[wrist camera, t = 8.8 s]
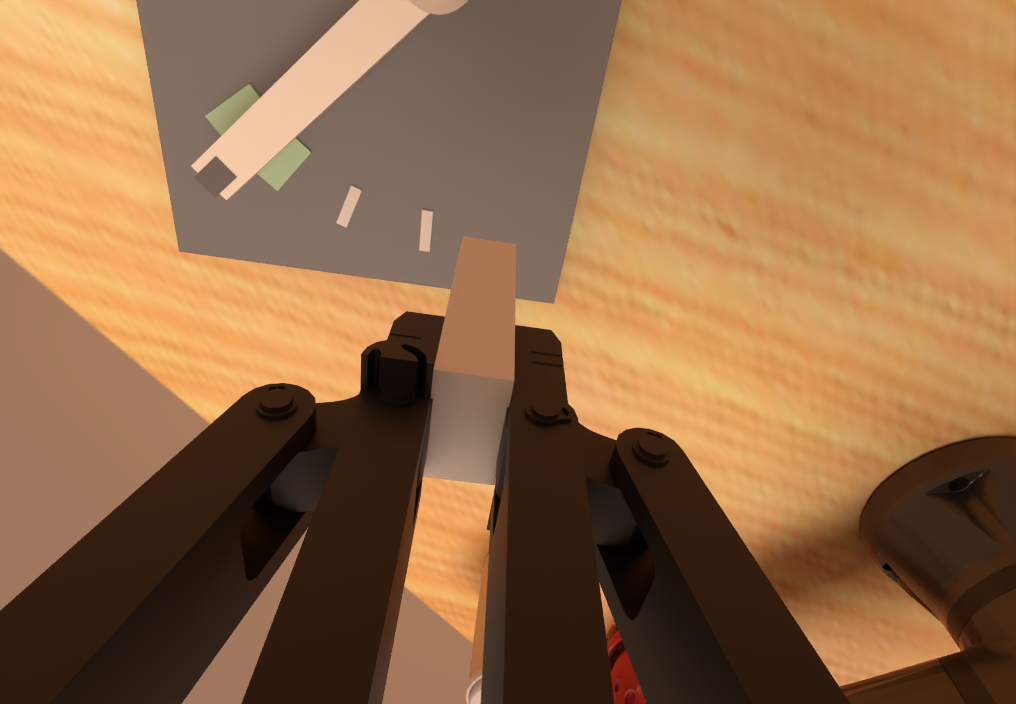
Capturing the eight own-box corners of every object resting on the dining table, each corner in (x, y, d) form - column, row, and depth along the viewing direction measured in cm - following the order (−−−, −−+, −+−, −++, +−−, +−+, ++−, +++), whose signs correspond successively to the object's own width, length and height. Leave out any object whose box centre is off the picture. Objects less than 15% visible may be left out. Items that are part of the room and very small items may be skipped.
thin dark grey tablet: (628, -54, 27) (643, -57, 24) (552, 291, 37) (556, 322, 33) (130, -148, 25) (74, -165, 22) (191, 241, 35) (159, 268, 32)
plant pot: (746, 651, 59) (794, 791, 49) (625, 683, 63) (647, 820, 53) (703, 581, 53) (747, 725, 43) (572, 622, 56) (585, 763, 46)
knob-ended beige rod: (445, -104, 23) (440, -109, 21) (496, -25, 24) (495, -24, 22) (192, 150, 28) (174, 160, 26) (245, 202, 29) (231, 214, 28)
